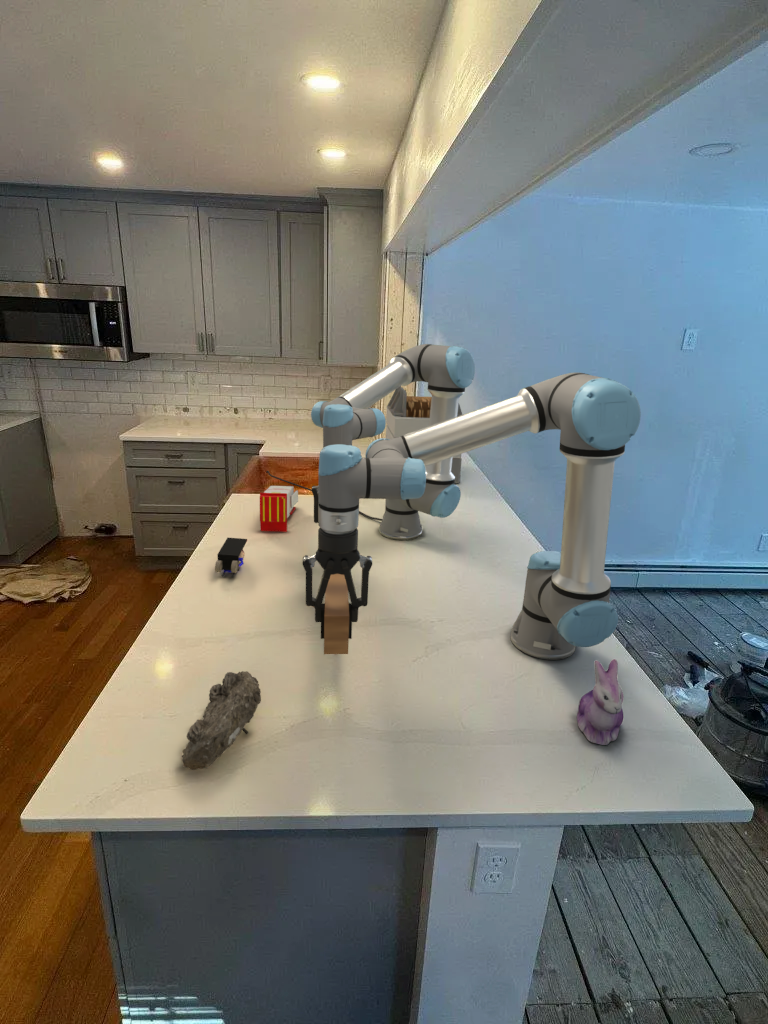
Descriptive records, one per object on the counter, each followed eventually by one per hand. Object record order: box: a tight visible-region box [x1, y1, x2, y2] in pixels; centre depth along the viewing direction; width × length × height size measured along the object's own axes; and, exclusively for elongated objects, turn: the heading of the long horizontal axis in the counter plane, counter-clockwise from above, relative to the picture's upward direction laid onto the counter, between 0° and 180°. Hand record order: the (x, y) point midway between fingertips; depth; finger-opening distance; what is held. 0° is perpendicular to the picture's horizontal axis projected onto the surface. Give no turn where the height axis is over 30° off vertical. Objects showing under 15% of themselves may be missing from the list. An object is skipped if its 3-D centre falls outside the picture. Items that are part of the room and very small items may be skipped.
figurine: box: [576, 658, 625, 746], centre depth 107 cm, size 9×10×15 cm
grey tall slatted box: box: [385, 386, 463, 484], centre depth 268 cm, size 34×33×41 cm
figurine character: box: [214, 537, 248, 578], centre depth 166 cm, size 7×8×15 cm
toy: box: [259, 485, 299, 533], centre depth 208 cm, size 12×13×30 cm
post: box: [323, 574, 350, 655], centre depth 134 cm, size 57×5×8 cm, turn 5°
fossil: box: [181, 670, 262, 771], centre depth 103 cm, size 22×10×15 cm
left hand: (335, 545), depth 157 cm, fingers closed on post, 5 cm apart
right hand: (336, 634), depth 114 cm, fingers closed on post, 5 cm apart
